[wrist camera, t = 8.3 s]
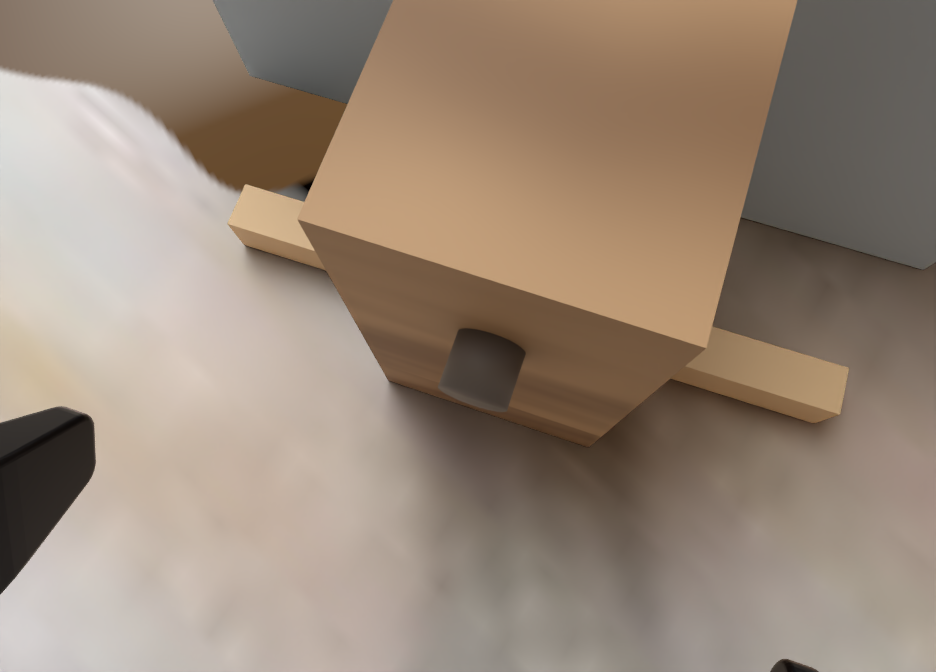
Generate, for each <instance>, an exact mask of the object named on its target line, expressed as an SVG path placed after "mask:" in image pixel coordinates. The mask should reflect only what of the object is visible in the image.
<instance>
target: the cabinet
mask: <svg viewBox="0 0 936 672" xmlns="http://www.w3.org/2000/svg"><path fill="white" fill-rule="evenodd" d="M796 4H797V0H393V2H392V4H391V6H390V9H389V11H388V13H387V15H386V18H385V20H384V22H383V24H382V27H381V29H380V31H379V34H378V36H377V38H376V40H375V43H374V45H373V47H372V50H371V52H370V54H369V56H368V59H367V61H366V63H365V65H364V68H363V70H362V72H361V75H360V77H359V79H358V81H357V84H356V86H355V88H354V90H353V93H352V95H351V97H350V100H349V102H348V104H347V107H346V109H345V111H344V113H343V116H342V118H341V120H340V122H339V125H338V127H337V129H336V131H335V134H334V136H333V138H332V141H331V143H330V145H329V147H328V150H327V152H326V154H325V156H324V159H323V161H322V163H321V166H320V168H319V170H318V172H317V175H316V177H315V179H314V182H313V184H312V186H311V188H310V191H309V193H308V195H307V197H306V200H305V202H304V204H303V207H302V209H301V211H300V213H299V216H298V218H297V220H298V222H299V224H300V225H301V227H302V229H303V231H304V232H305V234H306V236H307V238H308V239H309V241H310V243H311V245H312V247H313V248H314V250H315V252H316V254H317V255H318V257H319V259H320V261H321V262H322V264H323V266H324V268H325V269H326V271H327V273H328V275H329V277H330V278H331V280H332V282H333V284H334V285H335V287H336V289H337V291H338V292H339V294H340V296H341V298H342V300H343V301H344V303H345V305H346V307H347V308H348V310H349V312H350V314H351V315H352V317H353V319H354V321H355V323H356V324H357V326H358V328H359V330H360V331H361V333H362V335H363V337H364V338H365V340H366V342H367V344H368V345H369V347H370V349H371V351H372V353H373V354H374V356H375V358H376V360H377V361H378V363H379V365H380V367H381V368H382V370H383V372H384V374H385V376H386V377H387V379H388V381H391V382H394V383H397V384H400V385H403V386H406V387H409V388H412V389H415V390H418V391H421V392H424V393H427V394H430V395H433V396H436V397H439V398H442V399H445V400H448V401H451V402H454V403H457V404H460V405H463V406H466V407H469V408H472V409H475V410H478V411H481V412H484V413H487V414H490V415H493V416H496V417H499V418H502V419H505V420H508V421H511V422H514V423H517V424H520V425H523V426H526V427H529V428H532V429H535V430H538V431H541V432H543V433H546V434H549V435H552V436H555V437H558V438H561V439H564V440H567V441H570V442H573V443H576V444H579V445H582V446H585V447H588V448H589V447H590V446H591V445H592V444H593V443H594V442H596V441H597V440H598V439H599V438H600V437H602V436H603V435H604V434H605V433H606V432H608V431H609V430H610V429H611V428H612V427H613V426H615V425H616V424H617V423H618V422H619V421H621V420H622V419H623V418H624V417H625V416H627V415H628V414H629V413H630V412H631V411H632V410H634V409H635V408H636V407H637V406H638V405H640V404H641V403H642V402H643V401H644V400H646V399H647V398H648V397H649V396H650V395H651V394H653V393H654V392H655V391H656V390H657V389H659V388H660V387H661V386H662V385H663V384H664V383H666V382H667V381H668V380H669V379H670V378H672V377H673V376H674V375H675V374H676V373H678V372H679V371H680V370H681V369H682V368H683V367H685V366H686V365H687V364H688V363H689V362H691V361H692V360H693V359H694V358H695V357H697V356H698V355H699V354H700V353H701V352H702V351H704V350H705V349H706V348H707V344H708V340H709V336H710V332H711V328H712V325H713V321H714V317H715V313H716V309H717V306H718V302H719V298H720V294H721V290H722V286H723V283H724V279H725V275H726V271H727V267H728V264H729V260H730V256H731V252H732V248H733V244H734V241H735V237H736V233H737V229H738V225H739V221H740V218H741V214H742V210H743V206H744V202H745V199H746V195H747V191H748V187H749V183H750V179H751V176H752V172H753V168H754V164H755V160H756V157H757V153H758V149H759V145H760V141H761V137H762V134H763V130H764V126H765V122H766V118H767V114H768V111H769V107H770V103H771V99H772V95H773V92H774V88H775V84H776V80H777V76H778V72H779V69H780V65H781V61H782V57H783V53H784V50H785V46H786V42H787V38H788V34H789V30H790V27H791V23H792V19H793V15H794V11H795V8H796Z"/></svg>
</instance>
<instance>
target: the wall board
mask: <svg viewBox="0 0 936 672" xmlns="http://www.w3.org/2000/svg"><path fill="white" fill-rule="evenodd" d="M213 2H214V4H215V6H216V8H217V10H218V12H219V14H220V16H221V18H222V20H223V22H224V24H225V26H226V28H227V30H228V32H229V34H230V36H231V38H232V40H233V42H234V44H235V46H236V48H237V50H238V52H239V54H240V57H241V58H242V61H243V62H244V64H245V67H246V69H247V71H248V73H249V75H250V76H252V77H256V78H259V79H263V80H267V81H270V82H273V83H277V84H280V85H284V86H287V87H291V88H294V89H297V90H301V91H304V92H308V93H311V94H315V95H318V96H322V97H325V98H329V99H332V100H336V101H339V102H343V103H346V104H348V102H349V100H350V97H351V95H352V93H353V90H354V88H355V86H356V84H357V81H358V79H359V77H360V75H361V72H362V70H363V68H364V65H365V63H366V61H367V59H368V56H369V54H370V52H371V50H372V47H373V45H374V43H375V40H376V38H377V36H378V34H379V31H380V29H381V27H382V24H383V22H384V20H385V18H386V15H387V13H388V11H389V9H390V6H391V4H392V2H393V0H213ZM303 204H304V202H302V201H299V200H296V199H292V198H289V197H286V196H283V195H279V194H276V193H273V192H270V191H266V190H263V189H260V188H256V187H253V186H250V185H247V184H246V185H245V186H244V189H243V191H242V193H241V195H240V197H239V199H238V202H237V204H236V206H235V208H234V210H233V213H232V215H231V217H230V219H229V221H228V223H227V224H228V225H229V226H230V228H231V229H232V230H233V231H234V233H235V234H236V235H237V236H238V238H239V239H240V240H241V242H242V243H243V244H244V245H246V246H249V247H253V248H256V249H259V250H262V251H265V252H269V253H272V254H275V255H278V256H281V257H285V258H288V259H291V260H294V261H297V262H300V263H304V264H307V265H310V266H313V267H316V268H320V269H323V270H326V269H325V268H324V266H323V264H322V262H321V261H320V259H319V257H318V255H317V254H316V252H315V250H314V248H313V247H312V245H311V243H310V241H309V239H308V238H307V236H306V234H305V232H304V231H303V229H302V227H301V225H300V224H299V222H298V220H297V218H298V216H299V213H300V211H301V209H302V207H303ZM741 217H742V218H745V219H749V220H752V221H756V222H759V223H762V224H766V225H769V226H773V227H776V228H780V229H783V230H787V231H790V232H794V233H797V234H801V235H804V236H808V237H811V238H815V239H818V240H821V241H825V242H828V243H832V244H835V245H839V246H842V247H846V248H849V249H853V250H856V251H860V252H863V253H867V254H870V255H874V256H877V257H880V258H884V259H887V260H891V261H894V262H898V263H901V264H905V265H908V266H912V267H915V268H919V269H922V270H924V269H926V268H927V267H929V266H931V265H932V264H934V263H936V0H797V4H796V8H795V11H794V15H793V19H792V23H791V27H790V30H789V34H788V38H787V42H786V46H785V50H784V53H783V57H782V61H781V65H780V69H779V72H778V76H777V80H776V84H775V88H774V92H773V95H772V99H771V103H770V107H769V111H768V114H767V118H766V122H765V126H764V130H763V134H762V137H761V141H760V145H759V149H758V153H757V157H756V160H755V164H754V168H753V172H752V176H751V179H750V183H749V187H748V191H747V195H746V199H745V202H744V206H743V210H742V214H741ZM848 371H849V368H847V367H844V366H841V365H837V364H834V363H831V362H828V361H824V360H821V359H818V358H815V357H811V356H808V355H805V354H801V353H798V352H795V351H792V350H788V349H785V348H782V347H778V346H775V345H772V344H769V343H765V342H762V341H759V340H755V339H752V338H749V337H746V336H742V335H739V334H736V333H732V332H729V331H726V330H723V329H719V328H716V327H713V326H712V328H711V332H710V336H709V340H708V344H707V348H706V349H705V350H704V351H702V352H701V353H700V354H699V355H698V356H697V357H695V358H694V359H693V360H692V361H691V362H689V363H688V364H687V365H686V366H685V367H683V368H682V369H681V370H680V371H679V372H678V373H676V374H675V375H674V376H673V377H672V378H670V379H673V380H677V381H680V382H683V383H686V384H689V385H693V386H696V387H699V388H702V389H705V390H708V391H712V392H715V393H718V394H721V395H724V396H728V397H731V398H734V399H737V400H740V401H744V402H747V403H750V404H753V405H756V406H759V407H763V408H766V409H769V410H772V411H775V412H779V413H782V414H785V415H788V416H791V417H795V418H798V419H801V420H804V421H807V422H810V423H817V422H820V421H823V420H826V419H829V418H831V417H834V416H837V415H840V412H841V407H842V402H843V397H844V392H845V387H846V382H847V376H848Z"/></svg>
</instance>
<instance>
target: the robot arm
mask: <svg viewBox="0 0 936 672" xmlns="http://www.w3.org/2000/svg"><path fill="white" fill-rule="evenodd" d="M95 464H96V456H95V433H94V422H93V420H92V418H91V417H90V416H89V415H87V414H85V413H82V412H79V411H76V410H73V409H70V408H67V407H62V406H61V407H54V408H50V409H47V410H44V411H40V412H37V413H33V414H30V415H26V416H23V417H19V418H16V419H12V420H9V421H5V422H2V423H0V594H1V593H2V592H3V591H4V590H5V589H6V588H7V586H8V585H9V584H10V583H11V582H12V581H13V580H14V579H15V577H16V576H17V575H18V574H19V572H20V571H21V570H22V569H23V568H24V566H25V565H26V564H27V563H28V561H29V560H30V559H31V557H32V556H33V555H34V553H35V552H36V551H37V549H38V548H39V547H40V545H41V544H42V543H43V541H44V540H45V539H46V538H47V536H48V535H49V534H50V532H51V531H52V530H53V528H54V527H55V526H56V524H57V523H58V522H59V520H60V519H61V518H62V516H63V515H64V514H65V512H66V511H67V510H68V508H69V507H70V506H71V505H72V503H73V502H74V501H75V499H76V498H77V497H78V495H79V494H80V493H81V491H82V490H83V489H84V487H85V486H86V485H87V483H88V482H89V480H90V479H91V477H92V475H93V472H94V469H95ZM770 672H818V671H817V670H816V669H814V668H811V667H809V666H806V665H803V664H800V663H797V662H794V661H792V660H789V659H782V660H780V661H778V662H777V663H776V664H775V665H774V667H773V668H772V670H771V671H770Z"/></svg>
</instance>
